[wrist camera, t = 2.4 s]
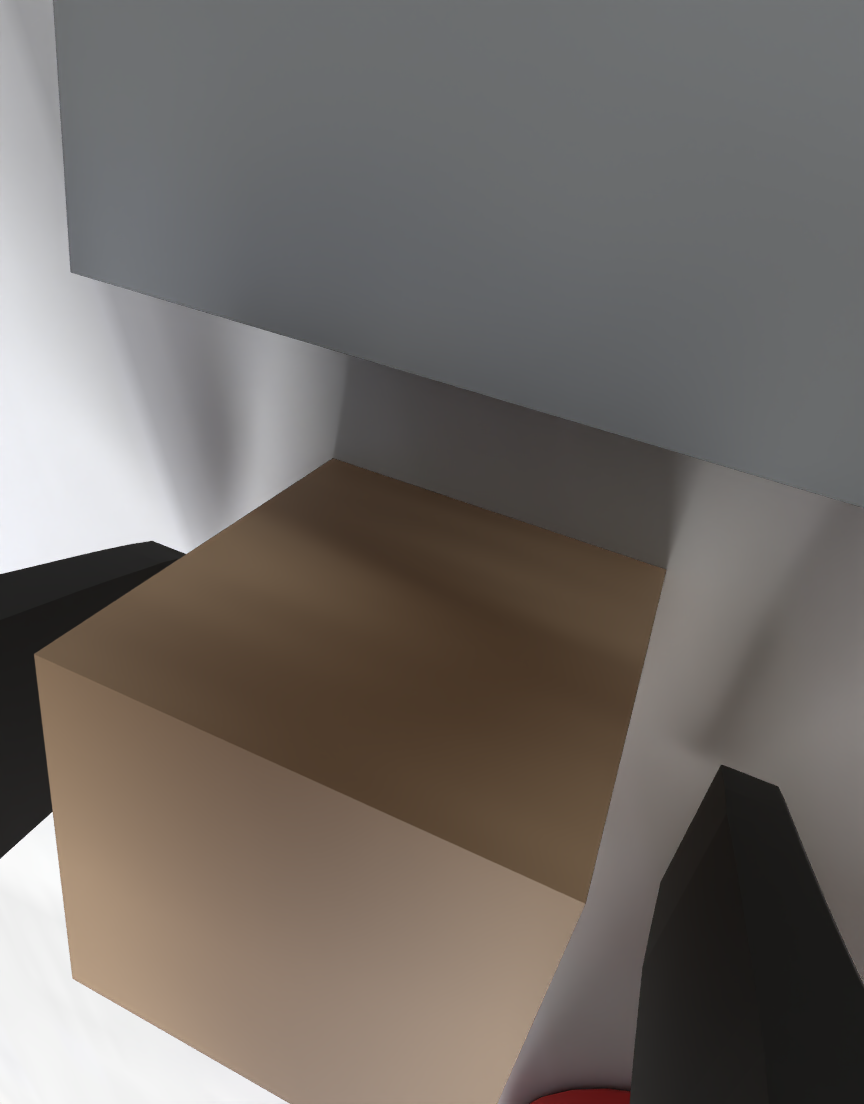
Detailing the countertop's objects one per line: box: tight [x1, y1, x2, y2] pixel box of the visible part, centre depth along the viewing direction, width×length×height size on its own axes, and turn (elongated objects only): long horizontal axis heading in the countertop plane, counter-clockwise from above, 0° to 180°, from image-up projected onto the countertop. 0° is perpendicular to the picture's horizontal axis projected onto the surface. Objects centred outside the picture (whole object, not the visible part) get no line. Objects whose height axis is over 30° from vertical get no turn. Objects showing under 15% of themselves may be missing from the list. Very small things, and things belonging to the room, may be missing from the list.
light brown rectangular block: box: [34, 458, 666, 1104], centre depth 9 cm, size 4×4×5 cm
